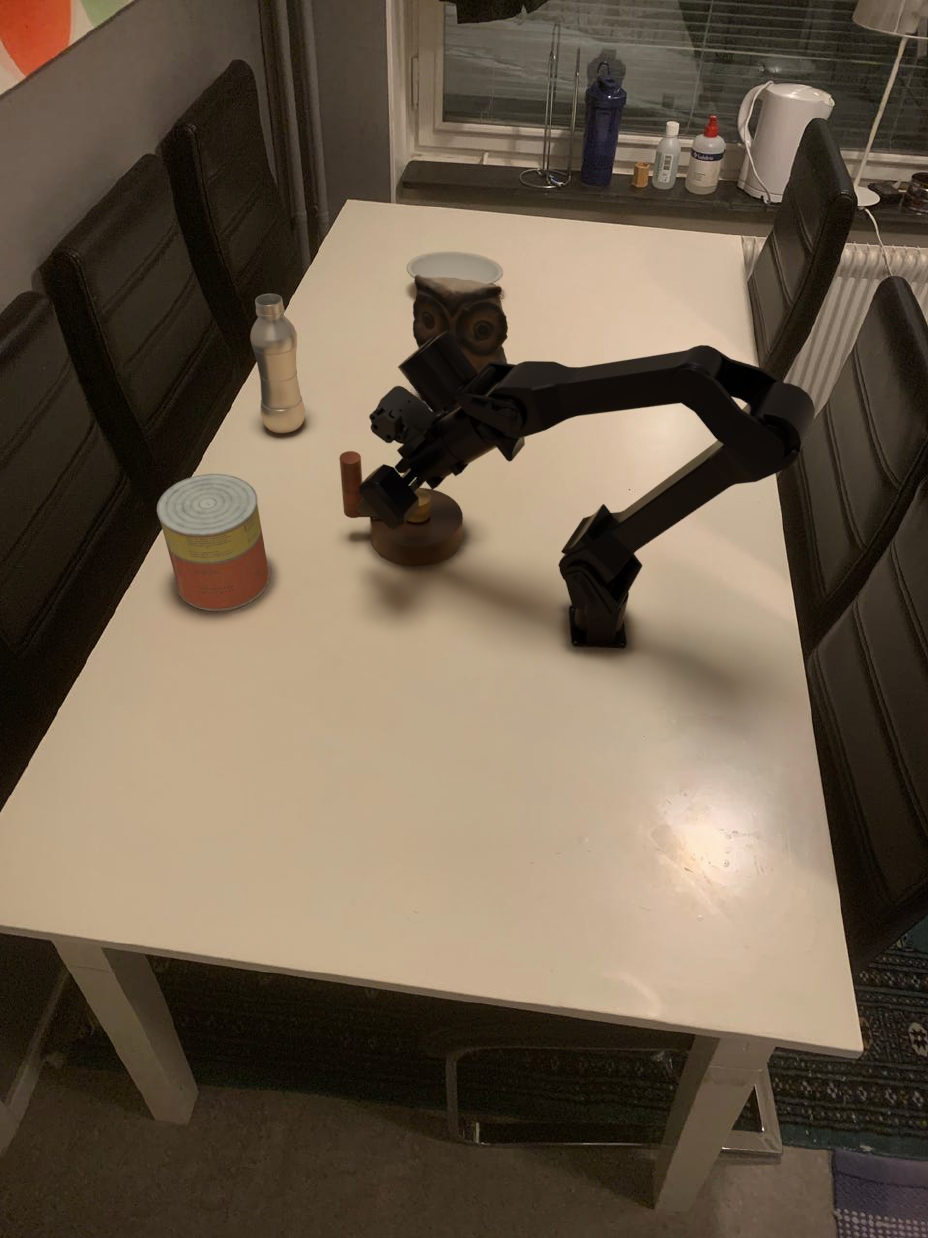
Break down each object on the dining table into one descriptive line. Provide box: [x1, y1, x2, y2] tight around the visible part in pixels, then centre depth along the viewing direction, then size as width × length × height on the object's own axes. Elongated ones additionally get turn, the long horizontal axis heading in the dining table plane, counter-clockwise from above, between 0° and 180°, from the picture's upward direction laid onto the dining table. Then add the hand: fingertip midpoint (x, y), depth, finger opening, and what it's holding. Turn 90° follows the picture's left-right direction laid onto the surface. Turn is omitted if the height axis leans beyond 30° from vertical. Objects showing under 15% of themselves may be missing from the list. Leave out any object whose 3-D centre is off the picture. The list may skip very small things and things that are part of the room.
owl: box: [412, 275, 509, 409], centre depth 137 cm, size 13×13×20 cm
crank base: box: [369, 487, 464, 568], centre depth 119 cm, size 12×12×4 cm
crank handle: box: [339, 450, 431, 522], centre depth 114 cm, size 11×4×9 cm, turn 92°
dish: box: [405, 251, 504, 285], centre depth 167 cm, size 18×14×5 cm
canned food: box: [156, 473, 271, 612], centre depth 109 cm, size 11×11×12 cm
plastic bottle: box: [249, 293, 306, 434], centre depth 130 cm, size 6×7×20 cm
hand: (378, 489), depth 111 cm, fingers open, 9 cm apart
